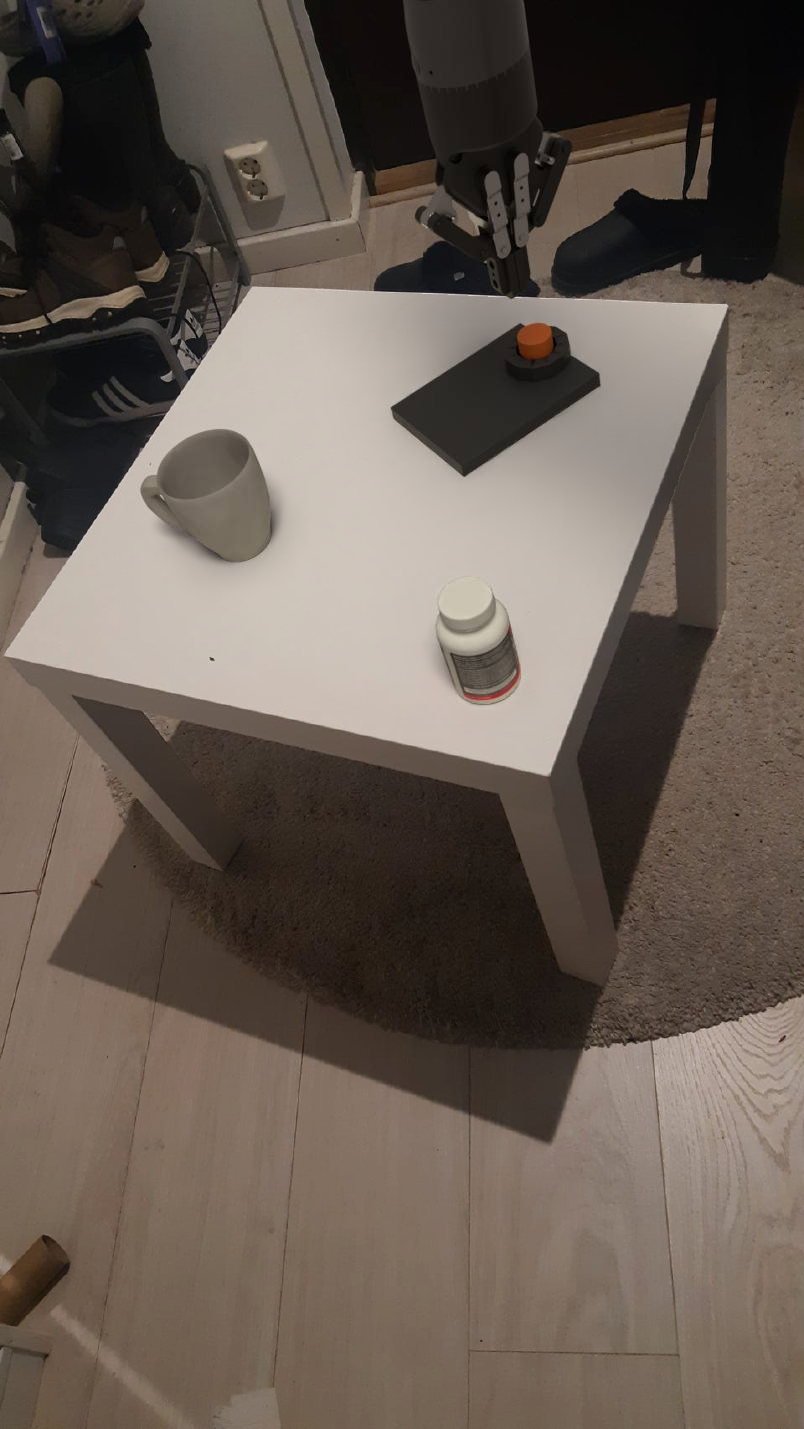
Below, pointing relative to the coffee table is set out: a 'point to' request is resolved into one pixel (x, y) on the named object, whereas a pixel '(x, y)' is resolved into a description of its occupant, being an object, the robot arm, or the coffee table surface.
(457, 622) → the pill bottle
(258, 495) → the mug
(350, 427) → the coffee table surface
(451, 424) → the scale
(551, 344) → the button
